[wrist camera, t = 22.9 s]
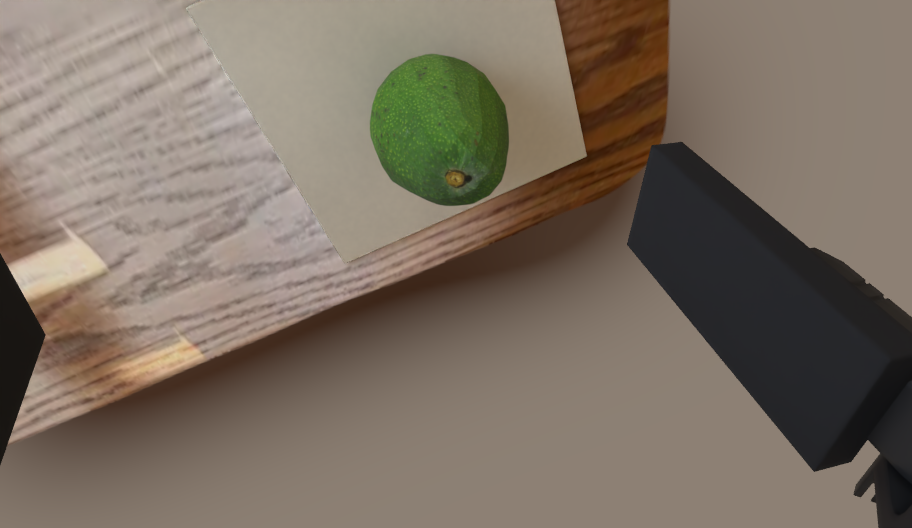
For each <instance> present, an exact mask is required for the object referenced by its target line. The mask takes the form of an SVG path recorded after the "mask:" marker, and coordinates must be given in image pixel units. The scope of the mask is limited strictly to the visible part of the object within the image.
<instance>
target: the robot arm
mask: <svg viewBox="0 0 912 528" xmlns="http://www.w3.org/2000/svg"><path fill="white" fill-rule="evenodd" d="M627 245H628V246H629V248H630V249H631V250H632V251H633V252H634V253H635V255H636V256H637V257H638V258H639V260H640V261H641V262H642V263H643V265H644V266H645V267H646V268H647V269H648V271H649V272H650V273H651V274H652V275H653V277H654V278H655V279H656V280H657V282H658V283H659V284H660V285H661V286H662V287H663V289H664V290H665V291H666V292H667V294H668V295H669V296H670V297H671V299H672V300H673V301H674V302H675V303H676V305H677V306H678V307H679V308H680V310H682V312H683V313H684V314H685V316H686V317H687V318H688V319H689V320H690V321H691V323H692V324H693V325H694V327H696V329H697V330H698V331H699V333H700V334H701V335H702V336H703V337H704V339H705V340H706V341H707V342H708V343H709V345H710V346H711V347H712V348H713V349H714V351H715V352H716V353H717V354H718V356H719V357H720V358H721V359H722V361H723V362H724V363H725V364H726V365H727V367H728V368H729V369H730V370H731V371H732V373H733V374H734V375H735V376H736V378H737V379H738V380H739V381H740V382H741V384H742V385H743V386H744V387H745V388H746V390H747V391H748V392H749V393H750V395H751V396H752V397H753V398H754V399H755V401H756V402H757V403H758V404H759V405H760V407H761V408H762V409H763V410H764V411H765V413H766V414H767V415H768V416H769V418H770V419H771V420H772V421H773V422H774V424H775V425H776V426H777V427H778V429H779V430H780V431H781V432H782V433H783V435H784V436H785V437H786V438H787V439H788V440H789V442H790V443H791V444H792V446H793V447H794V448H795V449H796V450H797V452H798V453H799V454H800V455H801V456H802V458H803V459H804V460H805V461H806V463H807V464H808V465H809V466H810V467H811V469H812V470H813V471H814V472H815V471H819V470H823V469H826V468H830V467H834V466H838V465H841V464H845V463H849V462H851V461H852V460H853V459H854V457H855V456H856V455H857V453H858V452H859V450H860V449H861V448H862V446H863V445H864V444H865V442H866V441H867V440H869V441H870V442H871V444H873V446H874V447H875V448H876V449H877V450H878V451H879V452H880V455H879V456H878V457H877V458H876V460H875V461H874V462H873V464H872V465H871V466H870V467H869V469H868V470H867V471H866V473H865V474H864V475H863V477H862V478H861V479H860V481H859V482H858V483H857V484H856V487H855V491H854V495H855V496H858V497H861V496H862V495H863V494H864V493H865V492H866V490H867V489H868V488H869V487H870V485H871V484H872V483H875V495H874V497H873V498H872V499H871V501H872V502H875V503H876V504H877V516H878V527H879V528H912V317H911V316H909V315H908V314H907V313H906V312H905V311H903V310H902V309H901V308H900V307H898V306H897V305H896V304H895V303H893V302H892V301H891V300H890V299H888V298H887V299H884V297H883V294H882V293H881V292H880V291H879V290H877V289H876V288H875V287H874V286H872V285H871V284H870V283H869V284H866V283H865V279H864V278H862V277H861V276H860V275H859V274H857V273H856V272H855V271H854V270H852V269H851V268H850V267H849V266H848V265H846V264H845V263H844V262H842V261H840V260H838V259H836V258H834V257H832V256H831V255H829V254H827V253H825V252H822V251H821V250H819V249H817V248H809V247H808V246H806V245H805V244H804V243H803V242H802V241H800V240H799V239H798V238H797V237H796V236H794V235H793V234H792V233H791V232H789V231H788V230H787V229H786V228H785V227H783V226H782V225H781V224H780V223H779V222H778V221H776V220H775V219H774V218H773V217H772V216H770V215H769V214H768V213H767V212H765V211H764V210H763V209H762V208H761V207H759V206H758V205H757V204H756V203H755V202H754V201H752V200H751V199H750V198H749V197H747V196H746V195H745V194H744V193H743V192H741V191H740V190H739V189H738V188H737V187H735V186H734V185H733V184H732V183H731V182H729V181H728V180H727V179H726V178H725V177H723V176H722V175H721V174H720V173H719V172H717V171H716V170H715V169H714V168H712V167H711V166H710V165H709V164H708V163H706V162H705V161H704V160H703V159H702V158H701V157H699V156H698V155H697V154H696V153H694V152H693V151H692V150H691V149H690V148H688V147H687V146H686V145H685V144H684V143H683V142H678V143H668V144H660V145H652V146H651V150H650V154H649V158H648V162H647V166H646V170H645V175H644V178H643V182H642V186H641V190H640V195H639V199H638V203H637V207H636V211H635V215H634V219H633V223H632V227H631V231H630V235H629V239H628V243H627ZM44 338H45V333H44V331H43V329H42V327H41V326H40V324H39V322H38V320H37V318H36V317H35V315H34V313H33V311H32V309H31V308H30V306H29V304H28V302H27V300H26V299H25V297H24V295H23V293H22V291H21V290H20V288H19V286H18V284H17V283H16V281H15V279H14V277H13V275H12V274H11V272H10V270H9V268H8V266H7V265H6V263H5V261H4V259H3V257H2V256H1V254H0V464H1V461H2V459H3V456H4V453H5V450H6V447H7V444H8V441H9V439H10V436H11V433H12V430H13V427H14V424H15V421H16V418H17V416H18V413H19V410H20V407H21V404H22V401H23V398H24V396H25V393H26V390H27V387H28V384H29V381H30V378H31V376H32V373H33V370H34V367H35V364H36V361H37V358H38V355H39V353H40V350H41V347H42V344H43V341H44Z"/></svg>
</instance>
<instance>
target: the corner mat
mask: <svg viewBox="0 0 912 528" xmlns="http://www.w3.org/2000/svg"><path fill="white" fill-rule="evenodd" d="M186 10H187V12H188V13H189V15H190V16H191V18H192V20H193V21H194V23H195V24H196V26H197V28H198V29H199V31H200V32H201V34H202V36H203V37H204V39H205V40H206V42H207V44H208V45H209V47H210V48H211V50H212V52H213V53H214V55H215V57H216V58H217V60H218V61H219V63H220V65H221V66H222V68H223V69H224V71H225V73H226V74H227V76H228V77H229V79H230V81H231V82H232V84H233V85H234V87H235V89H236V90H237V92H238V93H239V95H240V97H241V98H242V100H243V101H244V103H245V105H246V106H247V108H248V109H249V111H250V113H251V114H252V116H253V117H254V119H255V121H256V122H257V124H258V125H259V127H260V129H261V130H262V132H263V133H264V135H265V137H266V138H267V140H268V141H269V143H270V145H271V146H272V148H273V150H274V151H275V153H276V154H277V156H278V158H279V159H280V161H281V162H282V164H283V166H284V167H285V169H286V170H287V172H288V174H289V175H290V177H291V178H292V180H293V182H294V183H295V185H296V186H297V188H298V190H299V191H300V193H301V194H302V196H303V198H304V199H305V201H306V202H307V204H308V206H309V207H310V209H311V210H312V212H313V214H314V215H315V217H316V218H317V220H318V222H319V223H320V225H321V226H322V228H323V230H324V231H325V233H326V234H327V236H328V238H329V239H330V241H331V243H332V244H333V246H334V247H335V249H336V251H337V252H338V254H339V255H340V257H341V259H342V260H343V262H344V263H345V264H346V263H348V262H350V261H353V260H355V259H357V258H359V257H362V256H364V255H366V254H368V253H371V252H373V251H375V250H377V249H380V248H382V247H384V246H386V245H389V244H391V243H393V242H395V241H398V240H400V239H402V238H404V237H407V236H409V235H411V234H413V233H416V232H418V231H420V230H422V229H425V228H427V227H429V226H431V225H434V224H436V223H438V222H440V221H443V220H445V219H447V218H449V217H452V216H454V215H456V214H458V213H461V212H463V211H465V210H467V209H470V208H472V207H474V206H476V205H479V204H481V203H483V202H485V201H488V200H490V199H492V198H494V197H497V196H499V195H501V194H503V193H506V192H508V191H510V190H512V189H515V188H517V187H519V186H521V185H524V184H526V183H528V182H530V181H533V180H535V179H537V178H539V177H542V176H544V175H546V174H548V173H551V172H553V171H555V170H557V169H560V168H562V167H564V166H566V165H568V164H571V163H573V162H575V161H577V160H580V159H582V158H584V157H586V156H587V155H586V150H585V145H584V140H583V135H582V130H581V126H580V121H579V116H578V111H577V106H576V101H575V96H574V91H573V87H572V82H571V77H570V72H569V67H568V62H567V57H566V52H565V48H564V43H563V38H562V33H561V28H560V23H559V18H558V13H557V8H556V4H555V0H201V1H199V2H196V3H194V4H192V5H190V6H187V9H186ZM425 54H439V55H444V56H450V57H454V58H457V59H460V60H463V61H466V62H468V63H469V64H471V65H472V66H474V67H475V68H477V69H478V70H480V71H481V72H483V73H484V74H485V75H486V77H487V78H488V80H489V81H490V82H491V84H492V85H493V87H494V88H495V90H496V91H497V93H498V94H499V96H500V98H501V99H502V101H503V102H504V104H505V107H506V113H507V119H508V126H509V149H508V155H507V163H506V168H505V172H504V175H503V178H502V181H501V182H500V183H499V185H498V186H497V187H496V188H495V190H494V191H493V192H492V193H491V194H490V195H489V196H487V197H485V198H483V199H481V200H479V201H477V202H475V203H473V204H469V205H461V206H444V205H438V204H435V203H432V202H430V201H427V200H425V199H423V198H421V197H419V196H417V195H415V194H413V193H411V192H409V191H407V190H406V189H404V188H402V187H401V186H399V185H398V184H396V183H394V182H393V181H392V180H391V179H390V177H389V176H388V174H387V173H386V171H385V170H384V168H383V167H382V165H381V163H380V160H379V158H378V155H377V153H376V151H375V148H374V145H373V142H372V139H371V136H370V117H371V110H372V104H373V101H374V98H375V95H376V92H377V89H378V88H379V87H380V85H381V84H382V83H383V81H384V80H385V79H386V78H387V76H388V75H389V74H390V72H391V71H393V70H394V69H396V68H397V67H398V66H400V65H401V64H403V63H404V62H406V61H407V60H408V59H411V58H415V57H418V56H422V55H425Z"/></svg>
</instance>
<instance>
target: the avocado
mask: <svg viewBox="0 0 912 528" xmlns="http://www.w3.org/2000/svg"><path fill="white" fill-rule="evenodd" d="M370 136H371V139H372V142H373V145H374V148H375V151H376V153H377V155H378V158H379V160H380V163H381V165H382V167H383V168H384V170H385V171H386V173H387V174H388V176H389V177H390V179H391V180H392V181H393V182H394V183H396V184H398V185H399V186H401V187H402V188H404V189H406V190H407V191H409V192H411V193H413V194H415V195H417V196H419V197H421V198H423V199H425V200H427V201H430V202H432V203H435V204H438V205H444V206H461V205H469V204H473V203H475V202H477V201H479V200H481V199H483V198H485V197H487V196H489V195H490V194H491V193H492V192H493V191H494V190H495V188H496V187H497V186H498V185H499V183H500V182H501V181H502V178H503V175H504V172H505V168H506V163H507V155H508V149H509V126H508V119H507V113H506V107H505V104H504V102H503V101H502V99H501V98H500V96H499V94H498V93H497V91H496V90H495V88H494V87H493V85H492V84H491V82H490V81H489V80H488V78H487V77H486V75H485V74H484V73H483V72H481V71H480V70H478V69H477V68H475V67H474V66H472V65H471V64H469V63H468V62H466V61H463V60H460V59H457V58H454V57H450V56H444V55H439V54H425V55H422V56H418V57H415V58H411V59H408V60H407V61H406V62H404V63H403V64H401V65H400V66H398V67H397V68H396V69H394V70H393V71H391V72H390V74H389V75H388V76H387V78H386V79H385V80H384V81H383V83H382V84H381V85H380V87H379V88H378V89H377V92H376V95H375V98H374V101H373V104H372V110H371V117H370Z"/></svg>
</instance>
